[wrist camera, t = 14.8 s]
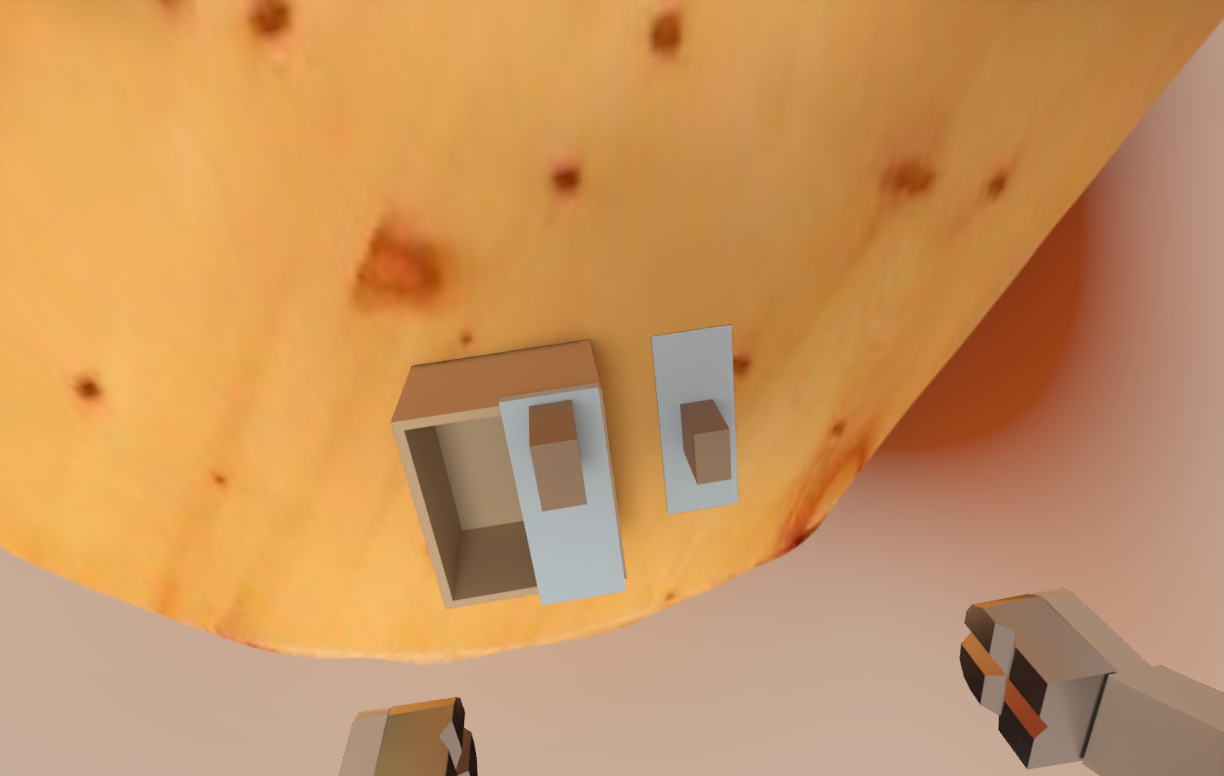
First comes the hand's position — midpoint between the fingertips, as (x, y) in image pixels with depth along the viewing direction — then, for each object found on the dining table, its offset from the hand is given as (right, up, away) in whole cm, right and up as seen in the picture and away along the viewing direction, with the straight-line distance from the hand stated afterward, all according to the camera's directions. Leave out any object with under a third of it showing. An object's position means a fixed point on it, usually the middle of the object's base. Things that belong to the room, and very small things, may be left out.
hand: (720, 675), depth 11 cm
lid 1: (-4, -2, +31) cm, 31 cm away
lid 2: (+5, +2, +39) cm, 40 cm away
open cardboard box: (-8, +1, +38) cm, 39 cm away
